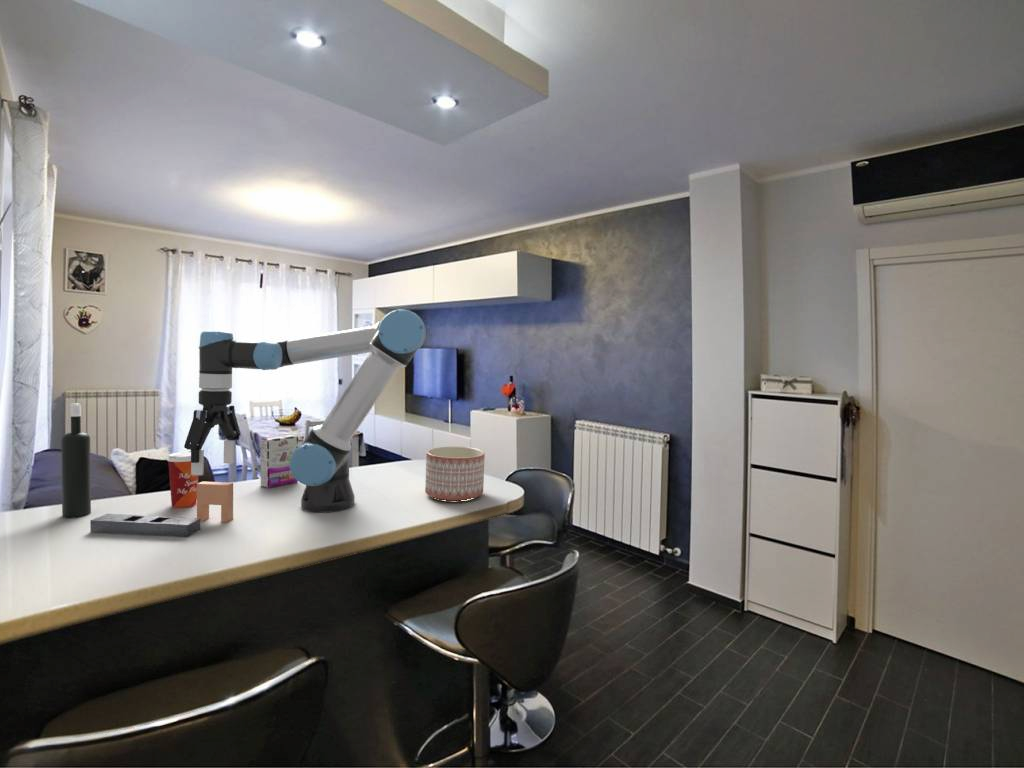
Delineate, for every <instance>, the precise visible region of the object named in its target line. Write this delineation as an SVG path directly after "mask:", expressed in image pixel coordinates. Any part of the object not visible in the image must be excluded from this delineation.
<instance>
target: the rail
mask: <svg viewBox="0 0 1024 768" xmlns="http://www.w3.org/2000/svg"><path fill="white" fill-rule="evenodd" d="M201 522H202V521H201V518H197V517H183V516H162V515H161V516H160V515H141V514H121V513H120V514H119V513H106V514H103V515H101V516H99V517H95V518H92V519H90V533H99V534H115V535H116V534H118V535H134V536H135V535H137V536H138V535H140V536H160V537H175V538H176V537H180V538H188V537H190V536H192V535H194V534H195V533H197V532H199V531H201V524H202V523H201Z"/></svg>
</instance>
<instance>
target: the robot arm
mask: <svg viewBox="0 0 1024 768" xmlns="http://www.w3.org/2000/svg"><path fill="white" fill-rule="evenodd" d="M427 333H428V329H427V327H426V324H425V322H424V321H423V319H422V318H421V317H420V315H418V314H417V313H416V312H414V311H412V310H409V309H405V308H400V309H395V310H392V311H390V312H389V313H387V314H386V315H384V316H383V317H382V319H381V320H380V321H377V323H375V325H372V326H364V327H359V328H358V327H357V328H352V329H347V330H341V331H340V330H339V331H333V332H327V333H322V334H321V333H320V334H314V335H308V336H302V337H294V338H289V339H283V340H274V341H269V340H262V341H261V340H239V339H235V337H234V335H233V333H232V332H229V331H216V330H204V331H201V333H200V336H199V346H198V349H199V361H198V362H199V366H198V367H199V370H198V371H199V374H198V375H199V377H198V388H199V389H200V390H199V391H198V405H201V406H203V407H202V409H194V410H193V416H192V421H191V425H190V426H189V431H188V432H187V433H188V434H187V436H186V440H185V442H184V445H183V447H184V449H186V450H189V451H190V452H191V475H198V476H204V474H205V473H204V466H205V465H204V464H205V463H204V462H205V460H204V459H205V456H204V455H205V449H203V446H204V444H205V442H206V440H207V438H208V436H209V434H210V432H211V430H212V429H213V428H214V427H215V426H218V427H219V429H220V430H221V431H222V434H223V435H224V437H225V439H224V440H223V464H228V465H229V464H230V465H231V464H235V462H236V459H235V457H236V456H235V455H236V441H238V440H240V437H241V431H240V426H239V424H238V421H237V416H236V411H235V406H234V405H233V404H232V399H233V398H232V395H233V393H232V391H231V390H230V389H232V388H233V369H247V370H248V369H250V370H261V371H270V370H274V371H275V370H277V369H279V368H283V367H287V366H293V365H297V364H299V365H300V364H306V363H311V362H317V361H324V360H325V361H326V360H330V359H331V360H332V359H335V358H343V357H350V356H354V355H361V354H367V353H369V354H368V355H367V356H366V358H365V360H364V361H363V363H362V364H361V366H360V367H359V368H358V370H357V372H356V373H355V375H354V376H353V378H352V379H351V381H350V382H349V383H348V385H347V387H346V388H345V389H344V391H343V392H342V393H341V396H340V397H339V398H338V400H337V402H336V403H335V405H334V406H333V407H332V409H331V411H330V412H329V413H328V415H327V416H326V418H325V419H324V420H323V422H322V424H319V425H315V426H313V427H312V428H311V429H310V430H309V432H308V434H307V436H306V438H304V440H303V442H301V444H300V445H298V447H297V448H296V449H295V450H294V452H293V454H292V455H291V458H290V462H289V467H290V471H291V473H292V475H293V477H294V478H295V479H296V480H297V481H298V482H297V483H300V484H302V485H305V488H304V491H303V494H302V496H301V501H300V502H301V503H300V507H301V509H302V510H305V511H307V512H312V513H332V512H333V513H334V512H339V511H344V510H347V509H349V508H352V507H354V505H355V501H356V500H355V493H354V490H353V487H352V484H351V481H350V458H351V457H350V452H351V450H352V445H351V440H352V438H353V437H354V435H355V434H356V433H357V431H358V429H360V427H361V425H362V424H363V422H364V421H365V419H366V417H367V416H368V414H369V413H370V411H371V410H372V408H373V407H374V405H375V404H376V403H377V401H378V400H379V398H380V396H381V395H382V393H383V392H384V390H385V389H386V388H387V386H388V384H389V383H390V382H391V380H392V378H393V377H394V376H395V374H396V373H397V371H398V369H401V368H406V367H407V366H408V364H409V363H410V362H411V360H412V359H413V357H414V356H415V354H416V353H417V351H418V350H419V349H421V347H423V345H424V344H425V343H426V341H427V337H428V336H427ZM231 404H232V405H231Z"/></svg>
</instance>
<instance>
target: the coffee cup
mask: <svg viewBox="0 0 1024 768" xmlns="http://www.w3.org/2000/svg"><path fill="white" fill-rule="evenodd" d="M166 461H167V462H168V473H169V487H170V488H169V489H170V502H171V503H170V504H171V507H172V508H174V509H184V508H190V507H194V506H196V505H197V483H199V475H191V451H180V452H172V453H170V454H169V455H168V458H167V459H166Z"/></svg>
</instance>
